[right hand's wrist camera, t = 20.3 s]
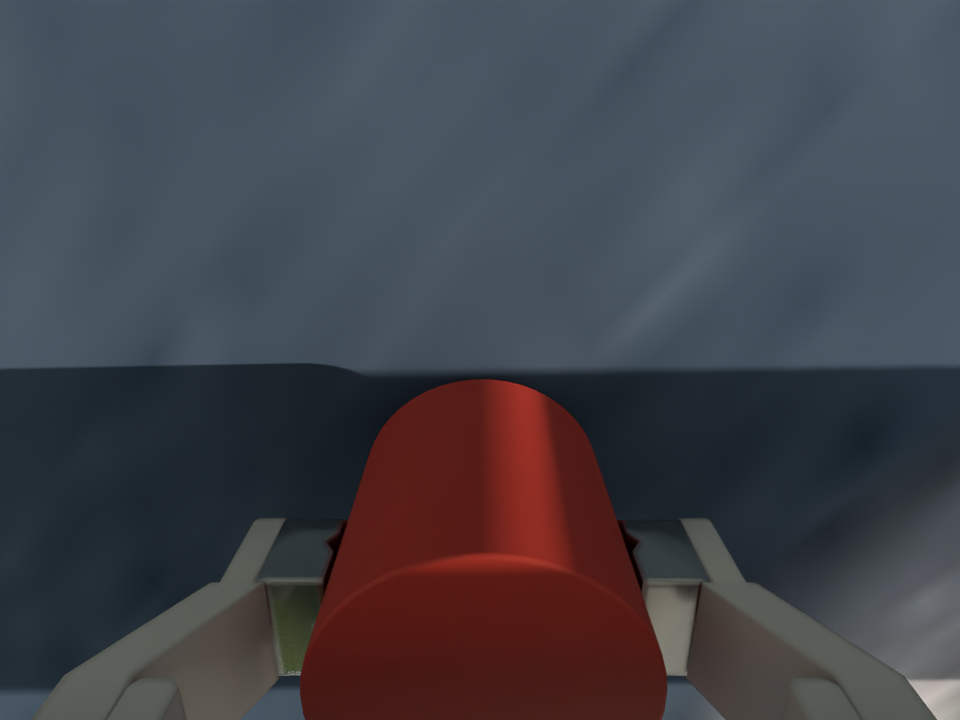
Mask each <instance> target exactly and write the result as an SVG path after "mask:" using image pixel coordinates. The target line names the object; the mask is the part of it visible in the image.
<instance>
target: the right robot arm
mask: <svg viewBox="0 0 960 720" xmlns="http://www.w3.org/2000/svg"><path fill="white" fill-rule="evenodd" d="M617 522H618V525H619V528H620V531H621V534H622V537H623V539H624V542H625V545H626V548H627V551H628V554H629V557H630V560H631V563H632V566H633V569H634V572H635V575H636V578H637V581H638V584H639V587H640V590H641V593H642V596H643V599H644V601H645V604H646V607H647V610H648V613H649V616H650V619H651V622H652V625H653V628H654V631H655V634H656V637H657V640H658V643H659V646H660V649H661V652H662V655H663V659H664V663H665V668H666V672H667V675H673V676H687V677H686V679H687V680H688V681H689V682H690V683H691V684H692V685H693V686H694V687H695V688H696V689H697V690H698V691H699V692H700V693H701V694H702V695H703V696H704V697H705V698H706V699H707V701H708V702H709V703H710V704H711V705H712V706H713V707H714V708H715V709H716V710H717V711H718V712H719V713H720V714H721V715H722V716H723V717H724V718H725V719H726V720H937V719H936V718H935V716H934V715H933V714H932V712H931V711H930V710H929V708H928V707H927V706H926V704H925V703H924V702H923V700H922V699H921V698H920V696H919V695H918V694H917V692H916V691H915V690H914V688H913V687H912V686H911V685H910V683H909V682H908V681H907V679H906V678H905V677H904V676H903V675H902V674H900V673H898V672H897V671H895V670H894V669H892V668H891V667H889V666H887V665H886V664H884V663H883V662H881V661H879V660H878V659H876V658H875V657H873V656H871V655H870V654H868V653H867V652H865V651H864V650H862V649H860V648H859V647H857V646H856V645H854V644H852V643H851V642H849V641H848V640H846V639H844V638H843V637H841V636H840V635H838V634H836V633H835V632H833V631H832V630H830V629H829V628H827V627H825V626H824V625H822V624H821V623H819V622H817V621H816V620H814V619H813V618H811V617H809V616H808V615H806V614H805V613H803V612H802V611H800V610H798V609H797V608H795V607H794V606H792V605H790V604H789V603H787V602H786V601H784V600H782V599H781V598H779V597H778V596H776V595H774V594H773V593H771V592H770V591H768V590H767V589H765V588H763V587H762V586H760V585H759V584H757V583H754V582H746V581H745V579H744V577H743V576H742V574H741V572H740V571H739V569H738V567H737V565H736V564H735V562H734V560H733V558H732V557H731V555H730V553H729V552H728V550H727V548H726V546H725V545H724V543H723V541H722V540H721V538H720V536H719V534H718V533H717V531H716V529H715V528H714V526H713V524H712V522H711V521H710V520H709V519H707V518H678V519H668V520H618V521H617ZM346 526H347V520H346V519H307V518H289V519H287V518H259V519H257V520H256V521H254V522H253V524H252V525H251V527H250V529H249V531H248V533H247V534H246V536H245V538H244V540H243V541H242V543H241V545H240V547H239V549H238V550H237V552H236V554H235V556H234V558H233V559H232V561H231V563H230V565H229V566H228V568H227V570H226V572H225V574H224V575H223V577H222V579H221V581H220V582H212V583H209V584H207V585H206V586H204V587H203V588H201V589H200V590H198V591H196V592H195V593H193V594H192V595H190V596H188V597H187V598H185V599H184V600H182V601H181V602H179V603H177V604H176V605H174V606H173V607H171V608H169V609H168V610H166V611H165V612H163V613H162V614H160V615H158V616H157V617H155V618H154V619H152V620H150V621H149V622H147V623H146V624H144V625H143V626H141V627H139V628H138V629H136V630H135V631H133V632H132V633H130V634H128V635H127V636H125V637H124V638H122V639H120V640H119V641H117V642H116V643H114V644H113V645H111V646H109V647H108V648H106V649H105V650H103V651H101V652H100V653H98V654H97V655H95V656H94V657H92V658H90V659H89V660H87V661H86V662H84V663H83V664H81V665H79V666H78V667H76V668H75V669H73V670H71V671H70V672H68V673H67V674H65V675H64V676H63V677H62V679H61V680H60V681H59V683H58V684H57V685H56V687H55V688H54V690H53V691H52V692H51V694H50V695H49V696H48V698H47V699H46V700H45V702H44V703H43V704H42V706H41V707H40V708H39V710H38V711H37V712H36V714H35V715H34V716H33V718H32V719H31V720H240V719H241V718H242V717H243V716H244V715H245V714H246V713H247V712H248V711H249V710H250V709H251V708H252V707H253V706H254V705H255V704H256V703H257V702H258V701H259V700H260V699H261V697H262V696H263V695H264V694H265V693H266V692H267V691H268V690H269V689H270V688H271V687H272V686H273V685H274V684H275V683H276V682H277V681H278V680H279V676H292V675H301V670H302V665H303V660H304V656H305V653H306V650H307V647H308V644H309V641H310V638H311V634H312V631H313V628H314V625H315V622H316V619H317V616H318V613H319V610H320V606H321V603H322V600H323V597H324V594H325V591H326V588H327V585H328V582H329V578H330V575H331V572H332V569H333V566H334V563H335V560H336V557H337V554H338V550H339V547H340V544H341V541H342V538H343V535H344V532H345V529H346Z"/></svg>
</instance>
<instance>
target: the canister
mask: <svg viewBox="0 0 960 720" xmlns="http://www.w3.org/2000/svg"><path fill="white" fill-rule="evenodd" d="M300 696H301V702H302V709H303V714H304V717H305V720H662V717H663V714H664V710H665V703H666V696H667V672H666V668H665V663H664V659H663V655H662V652H661V649H660V646H659V643H658V640H657V637H656V634H655V631H654V628H653V625H652V622H651V619H650V616H649V613H648V610H647V607H646V604H645V601H644V599H643V596H642V593H641V590H640V587H639V584H638V581H637V578H636V575H635V572H634V569H633V566H632V563H631V560H630V557H629V554H628V551H627V548H626V545H625V542H624V539H623V537H622V534H621V531H620V528H619V525H618V522H617V519H616V516H615V513H614V510H613V507H612V504H611V501H610V498H609V495H608V492H607V489H606V486H605V483H604V480H603V477H602V475H601V472H600V469H599V466H598V463H597V460H596V457H595V454H594V451H593V449H592V446H591V444H590V441H589V439H588V437H587V436H586V434H585V432H584V431H583V429H582V427H581V426H580V425H579V424H578V422H577V421H576V420H575V419H574V417H573V416H572V415H571V414H570V413H568V412H567V411H566V410H565V409H564V408H563V407H562V406H561V405H559V404H558V403H556V402H555V401H554V400H552V399H551V398H549V397H547V396H545V395H544V394H542V393H540V392H538V391H536V390H533V389H531V388H528V387H525V386H523V385H519V384H515V383H511V382H507V381H500V380H491V379H473V380H465V381H457V382H453V383H449V384H445V385H442V386H439V387H436V388H434V389H431V390H429V391H426V392H424V393H423V394H421V395H419V396H417V397H415V398H413V399H412V400H411V401H409V402H408V403H406V404H405V405H404V406H402V407H401V408H400V409H399V410H398V411H397V412H396V413H395V414H394V415H393V416H392V417H391V418H390V419H389V420H388V421H387V423H386V424H385V425H384V426H383V428H382V429H381V431H380V432H379V434H378V436H377V438H376V439H375V441H374V444H373V446H372V449H371V451H370V454H369V457H368V460H367V463H366V467H365V470H364V473H363V476H362V479H361V482H360V485H359V488H358V491H357V494H356V498H355V501H354V504H353V507H352V510H351V513H350V516H349V519H348V522H347V526H346V529H345V532H344V535H343V538H342V541H341V544H340V547H339V550H338V554H337V557H336V560H335V563H334V566H333V569H332V572H331V575H330V578H329V582H328V585H327V588H326V591H325V594H324V597H323V600H322V603H321V606H320V610H319V613H318V616H317V619H316V622H315V625H314V628H313V631H312V634H311V638H310V641H309V644H308V647H307V650H306V653H305V656H304V660H303V665H302V670H301V675H300Z"/></svg>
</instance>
